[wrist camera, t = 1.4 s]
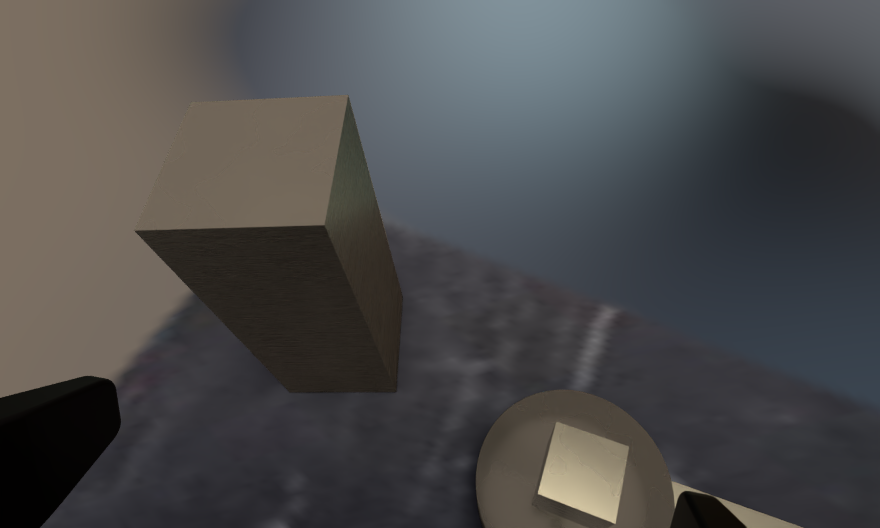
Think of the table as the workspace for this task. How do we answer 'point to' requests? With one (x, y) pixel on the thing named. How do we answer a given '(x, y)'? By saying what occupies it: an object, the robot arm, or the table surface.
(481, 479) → the ratchet
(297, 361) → the tall beige block
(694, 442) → the table surface
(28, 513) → the robot arm
